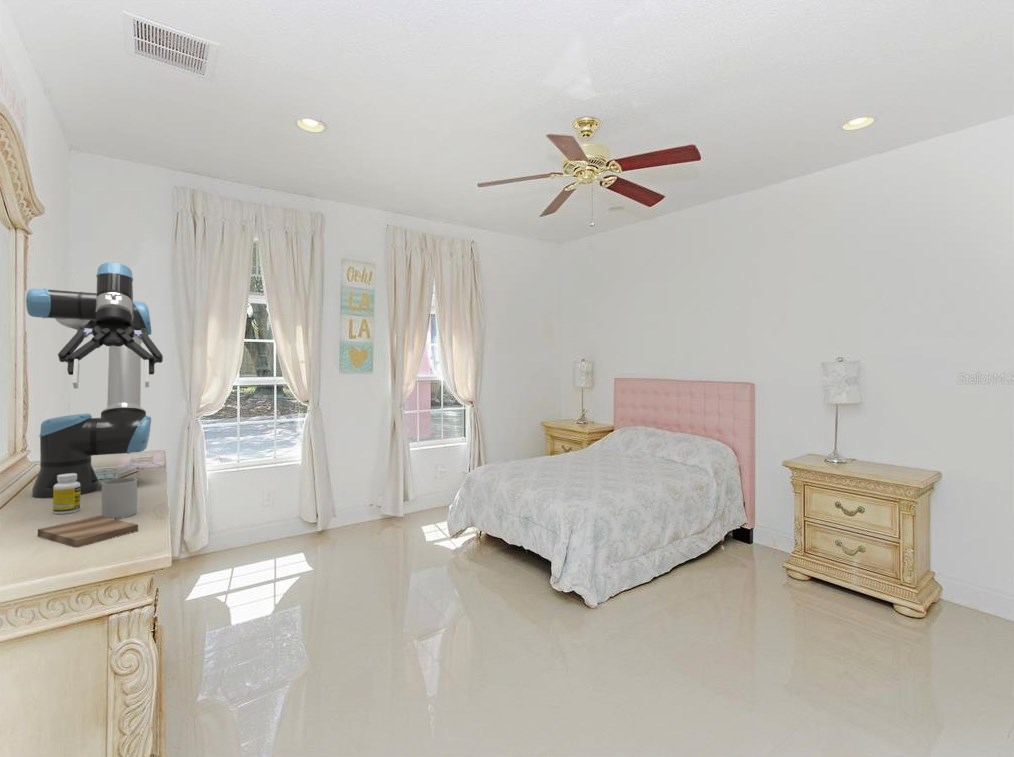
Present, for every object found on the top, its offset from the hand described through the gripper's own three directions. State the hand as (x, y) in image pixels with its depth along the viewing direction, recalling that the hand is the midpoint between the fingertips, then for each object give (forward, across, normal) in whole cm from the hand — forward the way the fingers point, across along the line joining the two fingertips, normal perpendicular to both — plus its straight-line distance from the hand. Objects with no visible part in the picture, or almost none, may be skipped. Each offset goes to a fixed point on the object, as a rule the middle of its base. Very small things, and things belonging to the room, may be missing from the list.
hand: (112, 385), depth 121 cm
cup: (+24, 0, +27) cm, 36 cm away
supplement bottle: (+18, -11, +35) cm, 41 cm away
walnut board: (+31, -4, +14) cm, 34 cm away
